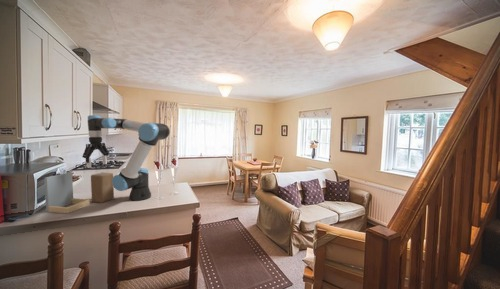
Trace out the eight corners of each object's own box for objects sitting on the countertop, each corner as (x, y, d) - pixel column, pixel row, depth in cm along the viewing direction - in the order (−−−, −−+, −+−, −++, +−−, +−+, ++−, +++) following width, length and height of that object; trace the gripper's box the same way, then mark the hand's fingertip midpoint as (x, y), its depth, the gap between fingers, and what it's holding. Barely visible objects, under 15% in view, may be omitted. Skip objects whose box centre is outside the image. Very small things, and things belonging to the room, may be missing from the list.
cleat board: (90, 203, 143) (89, 173, 141) (67, 213, 127) (65, 178, 125) (71, 202, 145) (69, 172, 143) (46, 211, 129) (44, 177, 127)
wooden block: (102, 203, 145) (101, 175, 143) (91, 201, 147) (90, 174, 145) (114, 198, 154) (113, 172, 153) (103, 197, 156) (102, 172, 155)
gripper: (104, 136, 159) (106, 162, 161) (74, 137, 135) (76, 168, 136) (113, 136, 159) (115, 162, 160) (84, 137, 134) (86, 168, 135)
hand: (97, 165), depth 148 cm, fingers open, 13 cm apart
